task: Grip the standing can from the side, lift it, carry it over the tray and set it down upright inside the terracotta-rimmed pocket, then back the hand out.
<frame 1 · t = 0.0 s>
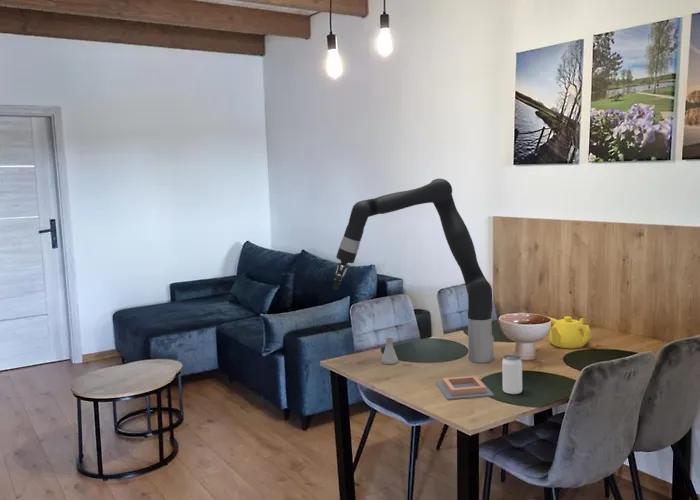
hand: (335, 287, 243), 31 cm above the table, tool tilted 20°, fingers open, 8 cm apart
tray: (464, 389, 211), on the table
teapot: (568, 344, 258), on the table
can: (512, 391, 207), on the table
flask: (390, 362, 245), on the table
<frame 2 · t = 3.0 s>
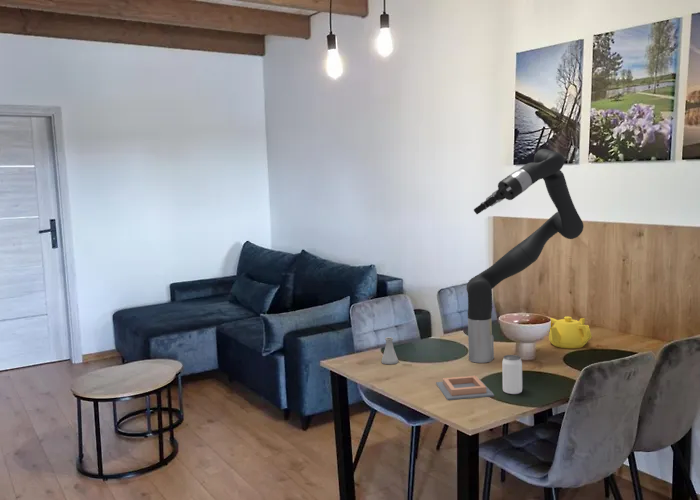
hand: (480, 208, 206), 63 cm above the table, tool tilted 60°, fingers open, 8 cm apart
nothing on the table moved.
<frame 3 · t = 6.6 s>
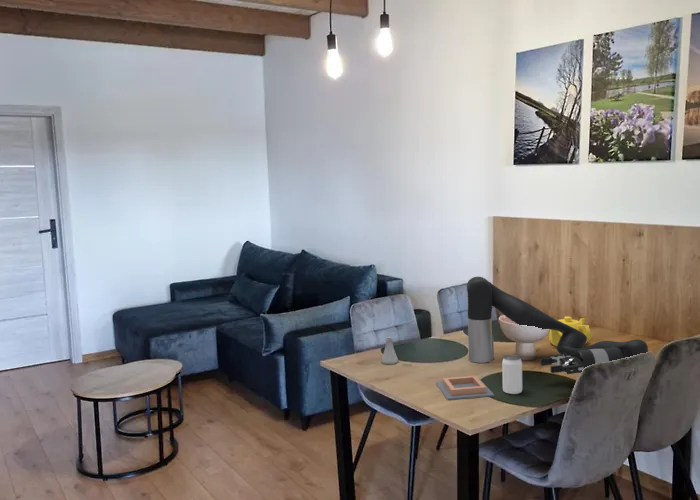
hand: (545, 365, 207), 8 cm above the table, tool horizontal, fingers open, 8 cm apart
nothing on the table moved.
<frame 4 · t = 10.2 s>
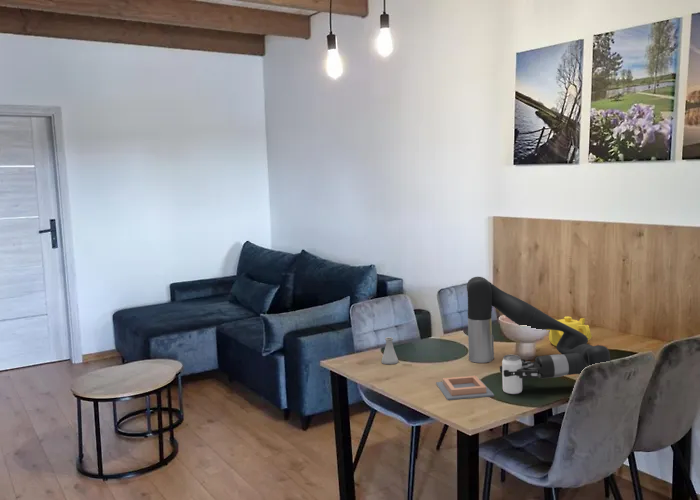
hand: (502, 371, 206), 7 cm above the table, tool horizontal, fingers closed on can, 4 cm apart
can: (512, 391, 207), on the table, touching gripper
everything else where it was.
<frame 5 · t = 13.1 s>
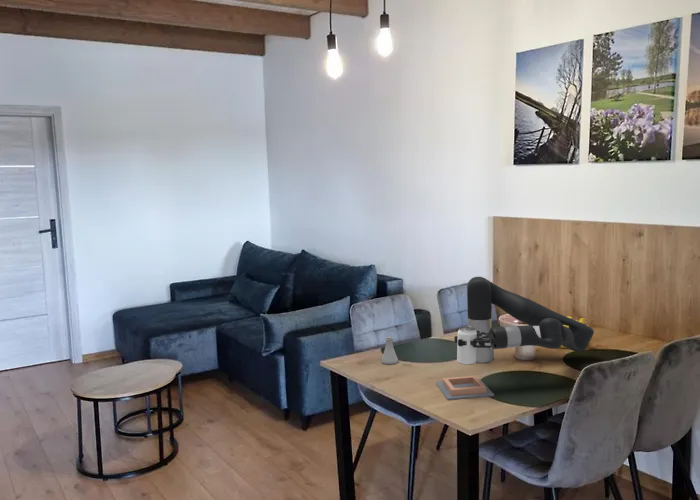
hand: (456, 341, 208), 18 cm above the table, tool horizontal, fingers closed on can, 3 cm apart
can: (466, 362, 209), point 10 cm above the table, touching gripper
everything else where it was.
when the fingers open (8 cm above the table, at t = 15.8 s): can stays where it is, resting on tray.
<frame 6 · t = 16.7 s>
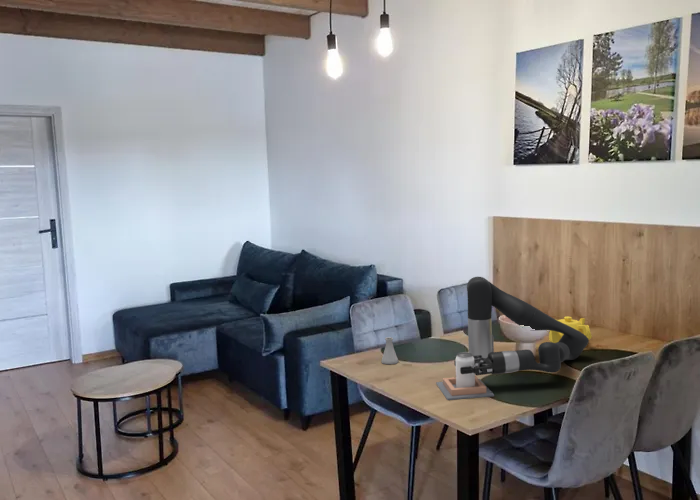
hand: (457, 367, 210), 8 cm above the table, tool horizontal, fingers open, 8 cm apart
can: (465, 388, 211), resting on tray
everything else where it was.
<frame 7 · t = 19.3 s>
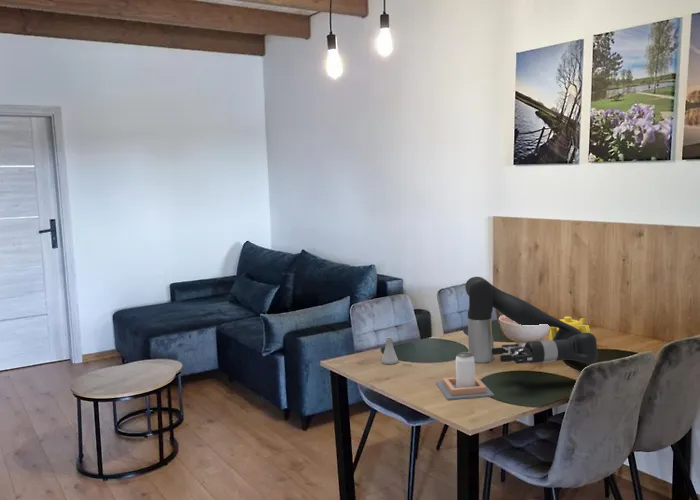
hand: (496, 355, 210), 12 cm above the table, tool horizontal, fingers open, 8 cm apart
nothing on the table moved.
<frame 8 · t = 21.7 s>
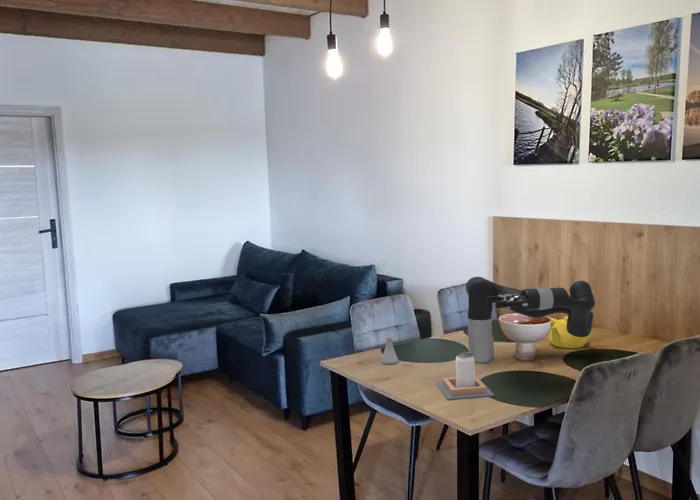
hand: (491, 302, 209), 30 cm above the table, tool horizontal, fingers open, 8 cm apart
nothing on the table moved.
at the end: can 0.6 cm off-centre on the tray, point 0.4 cm above the tray's base; can tilted 0°; the gripper is holding nothing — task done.
